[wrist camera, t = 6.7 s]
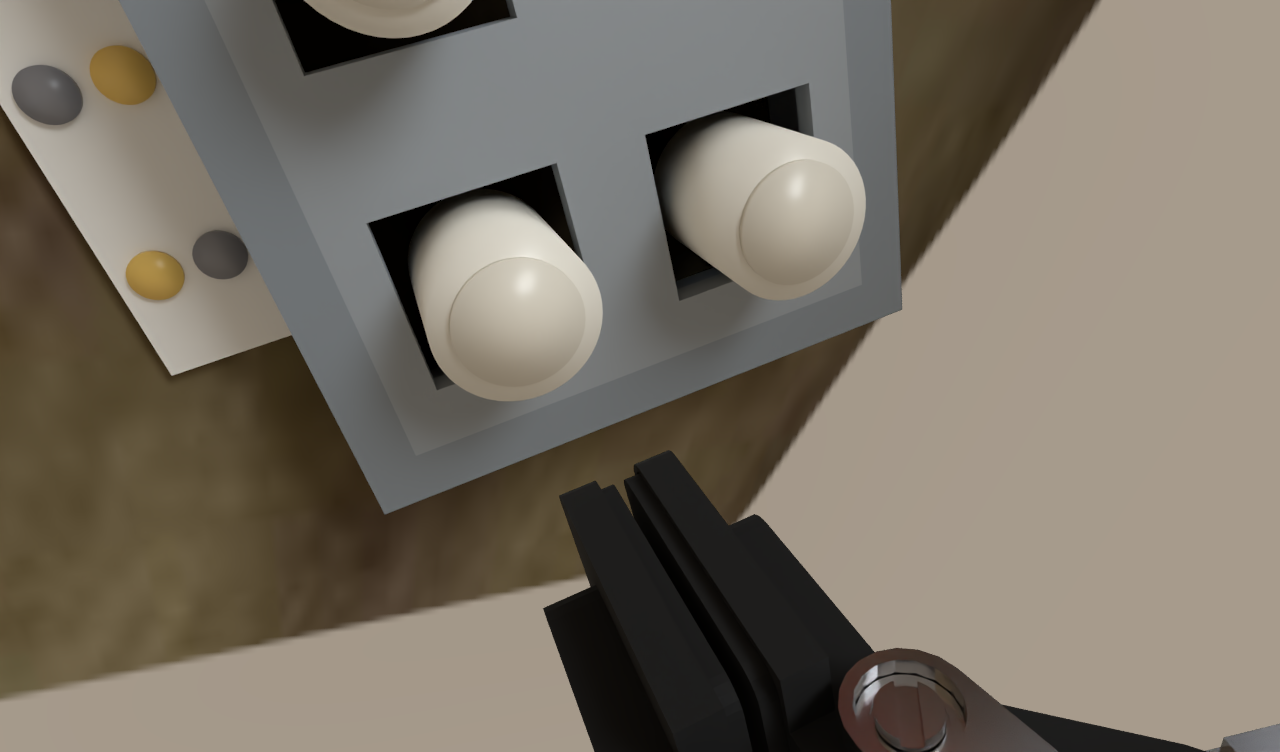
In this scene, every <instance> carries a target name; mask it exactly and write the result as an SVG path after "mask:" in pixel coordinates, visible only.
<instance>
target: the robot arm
mask: <svg viewBox="0 0 1280 752" xmlns="http://www.w3.org/2000/svg"><path fill="white" fill-rule="evenodd" d="M634 472H635V476H632V477H630V478H628V479H625V480H624V485H625V489H626V492H627V496H628V499H629V502H630V506H631V509H632V513H633V516H634V517H633V516H632V514H631V512H630V511H629V509H628V507H627V505H626V504H625V502H624V500H623V499H622V497H621V495H620V494H619V492H618V490H617V489H616V487H615V486H614V485H611V486H608V487H606V488H604V489H601V488H600V487H599V485H598V483H597V482H596V481H593V482H591V483H589V484H586V485H584V486H581V487H579V488H577V489H574V490H572V491H569V492H567V493H564V494H562V495H560V496H559V497H560V501H561V504H562V507H563V510H564V512H565V515H566V518H567V521H568V524H569V527H570V529H571V532H572V535H573V538H574V541H575V544H576V546H577V549H578V552H579V555H580V558H581V561H582V563H583V566H584V569H585V572H586V575H587V578H588V580H589V583H590V586H591V587H590V588H588V589H586V590H583V591H581V592H579V593H577V594H574V595H572V596H570V597H567V598H565V599H563V600H561V601H558V602H556V603H554V604H552V605H549V606H547V607H545V608H543V609H544V612H545V615H546V618H547V621H548V624H549V627H550V629H551V632H552V635H553V638H554V640H555V643H556V646H557V649H558V651H559V654H560V657H561V660H562V663H563V665H564V668H565V671H566V674H567V677H568V679H569V682H570V685H571V688H572V690H573V693H574V696H575V698H576V701H577V704H578V707H579V710H580V713H581V715H582V718H583V721H584V724H585V726H586V729H587V732H588V735H589V737H590V740H591V743H592V746H593V749H594V752H1280V724H1277V725H1273V726H1269V727H1265V728H1261V729H1257V730H1252V731H1248V732H1244V733H1240V734H1236V735H1233V736H1229V737H1224V738H1223V741H1222V745H1221V747H1219V748H1215V749H1211V750H1207V751H1202V750H1200V749H1197V748H1194V747H1190V746H1188V745H1184V744H1179V743H1175V742H1170V741H1166V740H1161V739H1157V738H1152V737H1147V736H1143V735H1138V734H1134V733H1129V732H1124V731H1120V730H1115V729H1111V728H1106V727H1102V726H1097V725H1092V724H1088V723H1083V722H1079V721H1074V720H1070V719H1065V718H1060V717H1056V716H1051V715H1047V714H1042V713H1038V712H1033V711H1028V710H1023V709H1019V708H1015V707H1010V706H1006V705H1001V704H1000V703H999V702H998V701H996V700H995V699H994V698H993V697H992V696H990V695H989V694H988V693H987V692H986V691H984V690H983V689H982V688H981V687H979V686H978V685H977V684H976V683H975V682H973V681H972V680H971V679H970V678H969V677H967V676H966V675H965V674H964V673H963V672H961V671H960V670H959V669H958V668H956V667H954V666H953V665H951V664H950V663H948V662H947V661H945V660H943V659H942V658H940V657H938V656H935V655H932V654H929V653H926V652H923V651H920V650H915V649H902V648H894V649H889V650H883V651H877V652H874V651H873V650H872V649H871V647H870V646H869V645H868V644H867V643H866V641H865V640H864V639H863V638H862V637H861V635H860V634H859V633H858V632H857V631H856V629H855V628H854V627H853V626H852V625H851V623H850V622H849V621H848V620H847V619H846V618H845V616H844V615H843V614H842V613H841V612H840V610H839V609H838V608H837V607H836V606H835V604H834V603H833V602H832V601H831V600H830V598H829V597H828V596H827V595H826V594H825V592H824V591H823V590H822V589H821V588H820V587H819V585H818V584H817V583H816V582H815V580H814V579H813V578H812V577H811V576H810V574H809V573H808V572H807V571H806V570H805V568H804V567H803V566H802V565H801V564H800V563H799V561H798V560H797V559H796V558H795V557H794V555H793V554H792V553H791V552H790V551H789V549H788V548H787V547H786V546H785V545H784V544H783V542H782V541H781V540H780V539H779V537H778V536H777V535H776V534H775V533H774V532H773V530H772V529H771V528H770V527H769V525H768V524H767V523H766V522H765V521H764V520H763V519H762V518H761V517H760V516H758V515H755V514H754V515H752V516H750V517H747V518H745V519H743V520H741V521H738V522H736V523H734V524H732V525H729V526H728V524H727V523H726V522H725V520H724V519H723V518H722V516H721V515H720V514H719V513H718V511H717V510H716V509H715V507H714V506H713V505H712V503H711V502H710V501H709V499H708V498H707V497H706V495H705V494H704V493H703V492H702V490H701V489H700V488H699V486H698V485H697V484H696V482H695V481H694V480H693V478H692V477H691V476H690V474H689V473H688V472H687V471H686V469H685V468H684V467H683V465H682V464H681V463H680V461H679V460H678V459H677V457H676V456H675V455H674V454H673V453H672V452H671V451H669V450H668V451H666V452H663V453H661V454H659V455H656V456H654V457H651V458H649V459H646V460H644V461H642V462H639V463H637V464H635V465H634Z"/></svg>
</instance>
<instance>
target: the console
mask: <svg viewBox="0 0 1280 752" xmlns="http://www.w3.org/2000/svg"><path fill="white" fill-rule="evenodd" d="M119 2H120V4H121V6H122V8H123V10H124V12H125V14H126V16H127V18H128V19H129V21H130V23H131V25H132V27H133V29H134V31H135V33H136V35H137V37H138V39H139V41H140V43H141V45H142V47H143V48H144V50H145V52H146V54H147V56H148V58H149V60H150V62H151V64H152V66H153V68H154V70H155V72H156V74H157V75H158V77H159V79H160V81H161V83H162V85H163V87H164V89H165V91H166V93H167V95H168V97H169V99H170V101H171V103H172V104H173V106H174V108H175V110H176V112H177V114H178V116H179V118H180V120H181V122H182V124H183V126H184V128H185V130H186V131H187V133H188V135H189V137H190V139H191V141H192V143H193V145H194V147H195V149H196V151H197V153H198V155H199V157H200V159H201V160H202V162H203V164H204V166H205V168H206V170H207V172H208V174H209V176H210V178H211V180H212V182H213V184H214V186H215V188H216V189H217V191H218V193H219V195H220V197H221V199H222V201H223V203H224V205H225V207H226V209H227V211H228V213H229V215H230V216H231V218H232V220H233V222H234V224H235V226H236V228H237V230H238V232H239V234H240V236H241V238H242V240H243V242H244V244H245V245H246V247H247V249H248V251H249V253H250V255H251V257H252V259H253V261H254V263H255V265H256V267H257V269H258V271H259V272H260V274H261V276H262V278H263V280H264V282H265V284H266V286H267V288H268V290H269V292H270V294H271V296H272V298H273V300H274V301H275V303H276V305H277V307H278V309H279V311H280V313H281V315H282V317H283V319H284V321H285V323H286V325H287V327H288V328H289V330H290V332H291V334H292V336H293V338H294V340H295V342H296V344H297V346H298V348H299V350H300V352H301V354H302V356H303V357H304V359H305V361H306V363H307V365H308V367H309V369H310V371H311V373H312V375H313V377H314V379H315V381H316V383H317V384H318V386H319V388H320V390H321V392H322V394H323V396H324V398H325V400H326V402H327V404H328V406H329V408H330V410H331V412H332V413H333V415H334V417H335V419H336V421H337V423H338V425H339V427H340V429H341V431H342V433H343V435H344V437H345V439H346V440H347V442H348V444H349V446H350V448H351V450H352V452H353V454H354V456H355V458H356V460H357V462H358V464H359V466H360V468H361V469H362V471H363V473H364V475H365V477H366V479H367V481H368V483H369V485H370V487H371V489H372V491H373V493H374V495H375V497H376V498H377V500H378V502H379V504H380V506H381V508H382V510H383V512H384V514H387V513H390V512H393V511H395V510H398V509H400V508H403V507H405V506H408V505H410V504H413V503H415V502H418V501H420V500H423V499H425V498H428V497H430V496H433V495H435V494H438V493H440V492H443V491H445V490H448V489H451V488H453V487H456V486H458V485H461V484H463V483H466V482H468V481H471V480H473V479H476V478H478V477H481V476H483V475H486V474H488V473H491V472H493V471H496V470H498V469H501V468H504V467H506V466H509V465H511V464H514V463H516V462H519V461H521V460H524V459H526V458H529V457H531V456H534V455H536V454H539V453H541V452H544V451H546V450H549V449H551V448H554V447H557V446H559V445H562V444H564V443H567V442H569V441H572V440H574V439H577V438H579V437H582V436H584V435H587V434H589V433H592V432H594V431H597V430H599V429H602V428H604V427H607V426H609V425H612V424H615V423H617V422H620V421H622V420H625V419H627V418H630V417H632V416H635V415H637V414H640V413H642V412H645V411H647V410H650V409H652V408H655V407H657V406H660V405H662V404H665V403H668V402H670V401H673V400H675V399H678V398H680V397H683V396H685V395H688V394H690V393H693V392H695V391H698V390H700V389H703V388H705V387H708V386H710V385H713V384H715V383H718V382H721V381H723V380H726V379H728V378H731V377H733V376H736V375H738V374H741V373H743V372H746V371H748V370H751V369H753V368H756V367H758V366H761V365H763V364H766V363H768V362H771V361H774V360H776V359H779V358H781V357H784V356H786V355H789V354H791V353H794V352H796V351H799V350H801V349H804V348H806V347H809V346H811V345H814V344H816V343H819V342H821V341H824V340H826V339H829V338H832V337H834V336H837V335H839V334H842V333H844V332H847V331H849V330H852V329H854V328H857V327H859V326H862V325H864V324H867V323H869V322H872V321H874V320H877V319H879V318H882V317H885V316H887V315H889V314H892V313H894V312H897V311H900V310H902V290H901V263H900V236H899V209H898V182H897V155H896V128H895V101H894V74H893V47H892V20H891V0H506V3H507V7H508V10H509V14H510V17H507V18H503V19H500V20H496V21H492V22H489V23H485V24H481V25H478V26H474V27H471V28H467V29H463V30H460V31H456V32H452V33H449V34H445V35H441V36H438V37H434V38H430V39H427V40H423V41H419V42H416V43H412V44H408V45H405V46H401V47H397V48H394V49H390V50H386V51H383V52H379V53H375V54H372V55H368V56H364V57H361V58H357V59H354V60H350V61H346V62H343V63H339V64H335V65H332V66H328V67H324V68H321V69H317V70H313V71H310V72H306V73H305V72H304V69H303V67H302V65H301V62H300V60H299V57H298V55H297V53H296V50H295V48H294V46H293V43H292V41H291V38H290V36H289V34H288V31H287V29H286V27H285V24H284V22H283V19H282V17H281V15H280V12H279V10H278V8H277V5H276V3H275V0H119ZM766 96H767V99H768V107H769V115H770V123H771V124H773V125H776V126H779V127H783V128H786V129H789V130H792V131H796V132H799V133H802V134H805V135H808V136H812V137H815V138H818V139H821V140H824V141H827V142H830V143H832V144H834V145H836V146H837V147H839V148H841V149H842V150H843V151H844V152H845V153H847V154H848V155H849V157H850V158H851V159H852V160H853V161H854V163H855V165H856V166H857V168H858V170H859V172H860V175H861V177H862V180H863V184H864V188H865V196H866V210H865V219H864V223H863V228H862V231H861V234H860V237H859V240H858V242H857V244H856V246H855V248H854V250H853V252H852V254H851V255H850V257H849V259H848V260H847V261H846V263H845V264H844V266H843V267H842V268H841V269H840V270H839V271H838V272H837V274H836V275H834V276H833V277H832V278H831V279H830V280H829V281H828V282H827V283H825V284H824V285H823V286H821V287H820V288H818V289H816V290H815V291H813V292H811V293H809V294H806V295H804V296H801V297H798V298H795V299H789V300H768V299H764V298H760V297H758V296H756V295H753V294H751V293H750V292H748V291H747V290H745V289H744V288H742V287H741V286H740V285H738V284H737V283H736V282H734V281H733V280H731V279H730V278H729V277H727V276H726V275H725V274H723V273H722V272H720V271H719V270H718V269H716V268H715V267H714V268H711V269H708V270H705V271H702V272H700V273H697V274H694V275H691V276H689V277H686V278H683V279H680V280H678V281H675V278H674V273H673V268H672V263H671V258H670V253H669V249H668V244H667V239H666V234H665V229H664V225H663V220H662V215H661V210H660V205H659V200H658V196H657V191H656V186H655V181H654V176H653V172H652V167H651V162H650V157H649V152H648V147H647V143H646V138H645V135H646V134H650V133H653V132H656V131H659V130H662V129H665V128H668V127H672V126H675V125H678V124H681V123H684V122H687V121H690V120H694V119H697V118H700V117H703V116H706V115H709V114H712V113H716V112H719V111H722V110H725V109H728V108H731V107H735V106H738V105H741V104H744V103H747V102H750V101H753V100H757V99H760V98H763V97H766ZM549 165H551V166H552V169H553V173H554V177H555V180H556V184H557V187H558V191H559V195H560V198H561V202H562V206H563V209H564V213H565V216H566V220H567V224H568V227H569V231H570V234H571V238H572V242H573V245H574V249H575V253H576V255H577V256H578V257H579V258H580V259H581V260H582V261H583V262H584V263H585V265H586V266H587V267H588V269H589V270H590V271H591V273H592V275H593V276H594V278H595V280H596V282H597V285H598V288H599V291H600V294H601V299H602V308H603V318H602V326H601V331H600V335H599V338H598V341H597V344H596V346H595V348H594V350H593V352H592V354H591V355H590V357H589V358H588V360H587V362H586V363H585V364H584V365H583V367H582V368H581V369H580V370H579V371H578V372H577V373H576V374H575V375H574V376H573V377H572V378H571V379H570V380H568V381H567V382H566V383H564V384H563V385H561V386H560V387H558V388H556V389H555V390H553V391H551V392H549V393H546V394H544V395H541V396H538V397H535V398H532V399H527V400H522V401H496V400H490V399H486V398H482V397H479V396H476V395H474V394H472V393H469V392H467V391H466V390H464V389H462V388H461V387H459V386H458V385H457V384H455V383H454V382H453V381H452V380H450V379H449V378H448V376H447V375H446V374H445V373H444V372H443V371H442V369H441V368H440V367H438V368H435V369H432V370H430V369H429V366H428V364H427V362H426V359H425V357H424V355H423V352H422V350H421V347H420V345H419V343H418V340H417V338H416V336H415V333H414V331H413V328H412V326H411V324H410V321H409V319H408V316H407V314H406V312H405V309H404V307H403V305H402V302H401V300H400V297H399V295H398V293H397V290H396V288H395V286H394V283H393V281H392V278H391V276H390V274H389V271H388V269H387V267H386V264H385V262H384V259H383V257H382V255H381V252H380V250H379V248H378V245H377V243H376V240H375V238H374V236H373V233H372V231H371V229H370V226H369V224H368V223H369V222H373V221H376V220H379V219H382V218H385V217H388V216H391V215H395V214H398V213H401V212H404V211H407V210H410V209H413V208H417V207H420V206H423V205H426V204H429V203H432V202H435V201H439V200H442V199H445V198H448V197H451V196H454V195H458V194H461V193H464V192H467V191H470V190H473V189H476V188H480V187H483V186H486V185H489V184H492V183H495V182H498V181H502V180H505V179H508V178H511V177H514V176H517V175H520V174H524V173H527V172H530V171H533V170H536V169H539V168H542V167H546V166H549Z"/></svg>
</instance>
